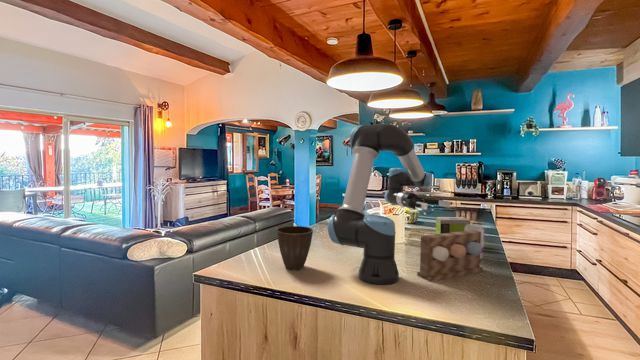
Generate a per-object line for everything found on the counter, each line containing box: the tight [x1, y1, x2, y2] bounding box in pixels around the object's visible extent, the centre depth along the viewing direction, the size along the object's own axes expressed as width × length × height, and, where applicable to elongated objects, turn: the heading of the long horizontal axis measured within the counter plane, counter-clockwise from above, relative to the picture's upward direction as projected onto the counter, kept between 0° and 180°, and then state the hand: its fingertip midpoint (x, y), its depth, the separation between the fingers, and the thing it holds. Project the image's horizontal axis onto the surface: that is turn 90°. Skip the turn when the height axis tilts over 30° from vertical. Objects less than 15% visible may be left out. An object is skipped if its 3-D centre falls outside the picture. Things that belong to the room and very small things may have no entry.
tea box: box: [435, 216, 471, 234], centre depth 176 cm, size 15×10×15 cm, turn 84°
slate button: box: [467, 241, 482, 256], centre depth 136 cm, size 5×9×5 cm, turn 25°
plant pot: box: [276, 225, 314, 271], centre depth 138 cm, size 15×15×16 cm
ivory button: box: [432, 246, 449, 261], centre depth 128 cm, size 5×9×5 cm, turn 25°
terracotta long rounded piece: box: [450, 243, 466, 258], centre depth 132 cm, size 5×9×5 cm, turn 25°
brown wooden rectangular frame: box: [416, 230, 484, 283], centre depth 133 cm, size 28×7×16 cm, turn 115°
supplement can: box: [464, 223, 485, 260], centre depth 155 cm, size 8×8×15 cm
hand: (438, 205), depth 150 cm, fingers open, 13 cm apart
